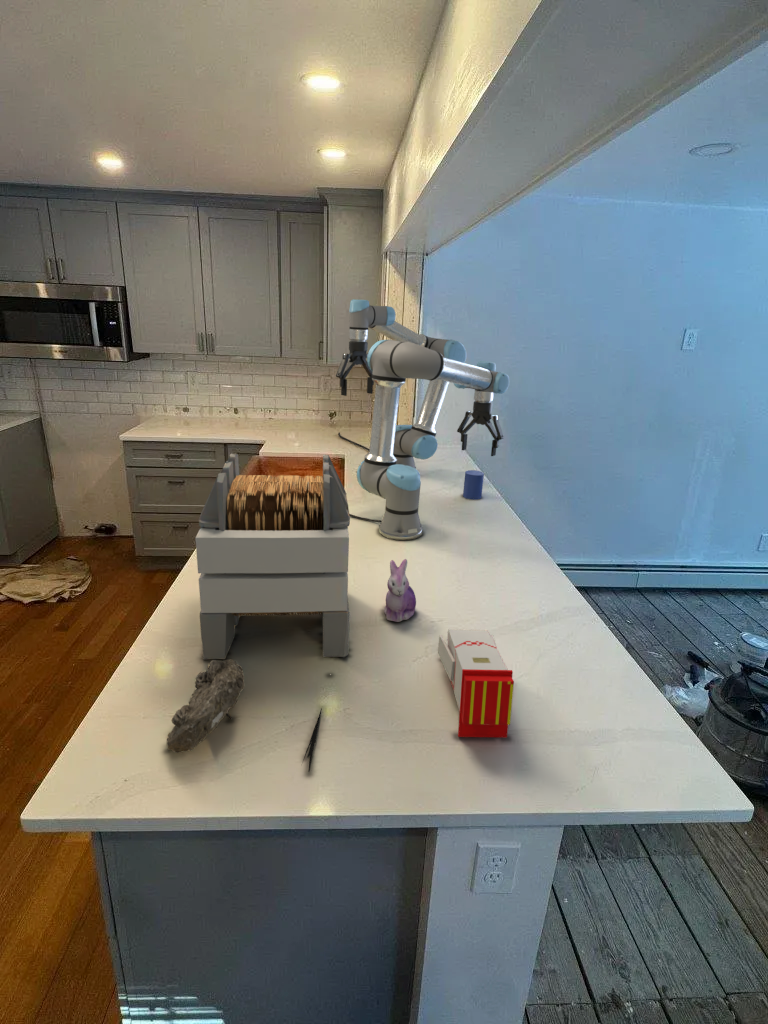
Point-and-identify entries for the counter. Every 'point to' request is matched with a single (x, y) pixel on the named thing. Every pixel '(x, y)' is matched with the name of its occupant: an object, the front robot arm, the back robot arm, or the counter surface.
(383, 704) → the counter surface
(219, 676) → the fossil
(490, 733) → the toy
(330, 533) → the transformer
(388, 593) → the figurine
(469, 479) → the cylinder
